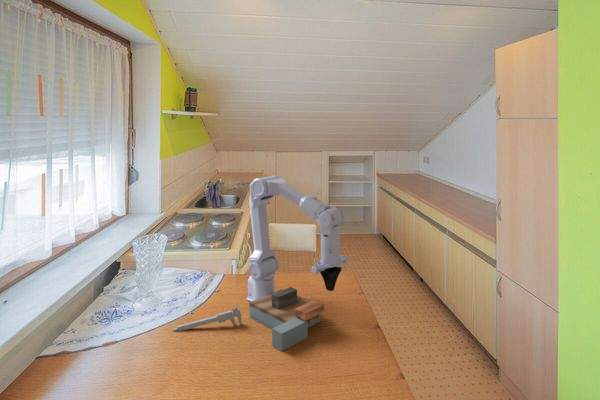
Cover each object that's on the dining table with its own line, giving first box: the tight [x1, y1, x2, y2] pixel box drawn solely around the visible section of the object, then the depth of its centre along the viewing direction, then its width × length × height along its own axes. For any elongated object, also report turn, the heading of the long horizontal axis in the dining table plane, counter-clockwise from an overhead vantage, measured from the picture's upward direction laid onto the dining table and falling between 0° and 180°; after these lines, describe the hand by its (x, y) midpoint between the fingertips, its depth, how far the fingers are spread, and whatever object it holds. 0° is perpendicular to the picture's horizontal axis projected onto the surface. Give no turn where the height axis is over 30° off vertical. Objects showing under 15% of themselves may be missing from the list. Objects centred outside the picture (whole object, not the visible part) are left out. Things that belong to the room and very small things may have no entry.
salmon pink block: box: [295, 300, 325, 321], centre depth 117 cm, size 4×8×2 cm, turn 135°
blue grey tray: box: [249, 305, 322, 352], centre depth 122 cm, size 22×20×5 cm
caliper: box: [172, 306, 242, 332], centre depth 121 cm, size 20×1×6 cm, turn 100°
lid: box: [249, 286, 319, 323], centre depth 124 cm, size 22×14×6 cm, turn 45°
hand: (330, 289), depth 123 cm, fingers closed
